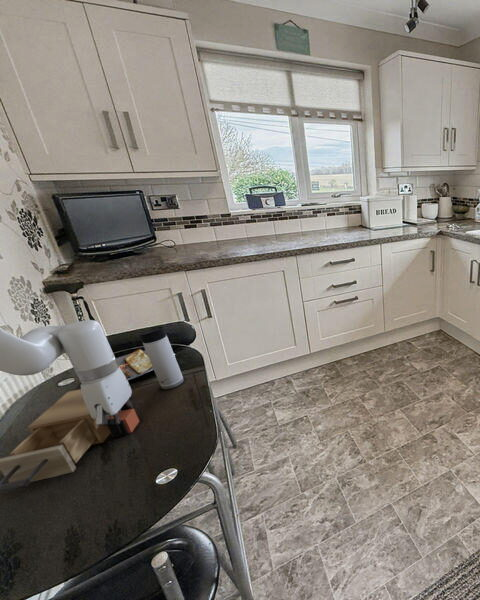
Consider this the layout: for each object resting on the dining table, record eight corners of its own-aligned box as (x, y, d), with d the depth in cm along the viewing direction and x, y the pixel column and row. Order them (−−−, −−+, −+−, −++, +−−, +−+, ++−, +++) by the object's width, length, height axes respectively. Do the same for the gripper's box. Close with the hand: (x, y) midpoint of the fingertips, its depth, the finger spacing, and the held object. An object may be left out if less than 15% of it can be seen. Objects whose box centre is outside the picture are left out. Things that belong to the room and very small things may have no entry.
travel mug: (164, 392, 102) (140, 335, 94) (159, 385, 106) (136, 330, 99) (186, 382, 106) (165, 327, 99) (180, 375, 110) (160, 322, 103)
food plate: (80, 376, 116) (76, 368, 114) (156, 348, 132) (153, 340, 130) (92, 402, 100) (87, 393, 99) (177, 367, 116) (173, 358, 115)
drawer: (51, 498, 67) (35, 473, 65) (-16, 515, 65) (-36, 490, 63) (106, 430, 86) (95, 409, 83) (55, 441, 83) (42, 420, 81)
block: (131, 432, 85) (125, 419, 84) (112, 436, 84) (105, 423, 83) (139, 421, 89) (133, 408, 88) (121, 425, 88) (115, 412, 87)
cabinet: (103, 442, 83) (88, 414, 80) (44, 455, 80) (26, 427, 77) (131, 406, 96) (119, 381, 93) (81, 416, 94) (68, 391, 91)
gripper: (100, 356, 87) (126, 411, 94) (56, 393, 72) (90, 456, 78) (132, 350, 89) (155, 405, 95) (95, 385, 73) (126, 448, 80)
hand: (125, 427), depth 87 cm, fingers closed on block, 4 cm apart
